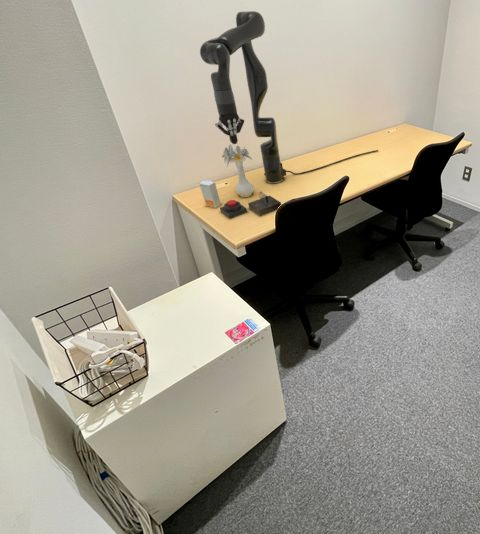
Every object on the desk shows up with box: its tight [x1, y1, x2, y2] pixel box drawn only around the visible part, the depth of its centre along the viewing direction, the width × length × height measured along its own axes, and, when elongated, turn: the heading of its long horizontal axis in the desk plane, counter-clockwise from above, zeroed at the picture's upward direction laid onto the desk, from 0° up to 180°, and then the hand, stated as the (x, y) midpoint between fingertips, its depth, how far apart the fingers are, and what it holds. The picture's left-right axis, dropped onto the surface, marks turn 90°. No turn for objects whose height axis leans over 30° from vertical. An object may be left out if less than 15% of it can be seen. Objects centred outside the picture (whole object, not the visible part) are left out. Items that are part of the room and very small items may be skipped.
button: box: [226, 199, 237, 207], centre depth 154 cm, size 4×4×2 cm
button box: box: [219, 200, 248, 220], centre depth 155 cm, size 9×9×4 cm
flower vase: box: [221, 143, 255, 198], centre depth 163 cm, size 13×18×25 cm
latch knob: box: [258, 191, 269, 205], centre depth 156 cm, size 6×2×5 cm, turn 44°
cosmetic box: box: [198, 179, 222, 209], centre depth 158 cm, size 6×4×12 cm
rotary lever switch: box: [247, 195, 282, 217], centre depth 159 cm, size 12×10×3 cm
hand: (234, 143), depth 146 cm, fingers closed
